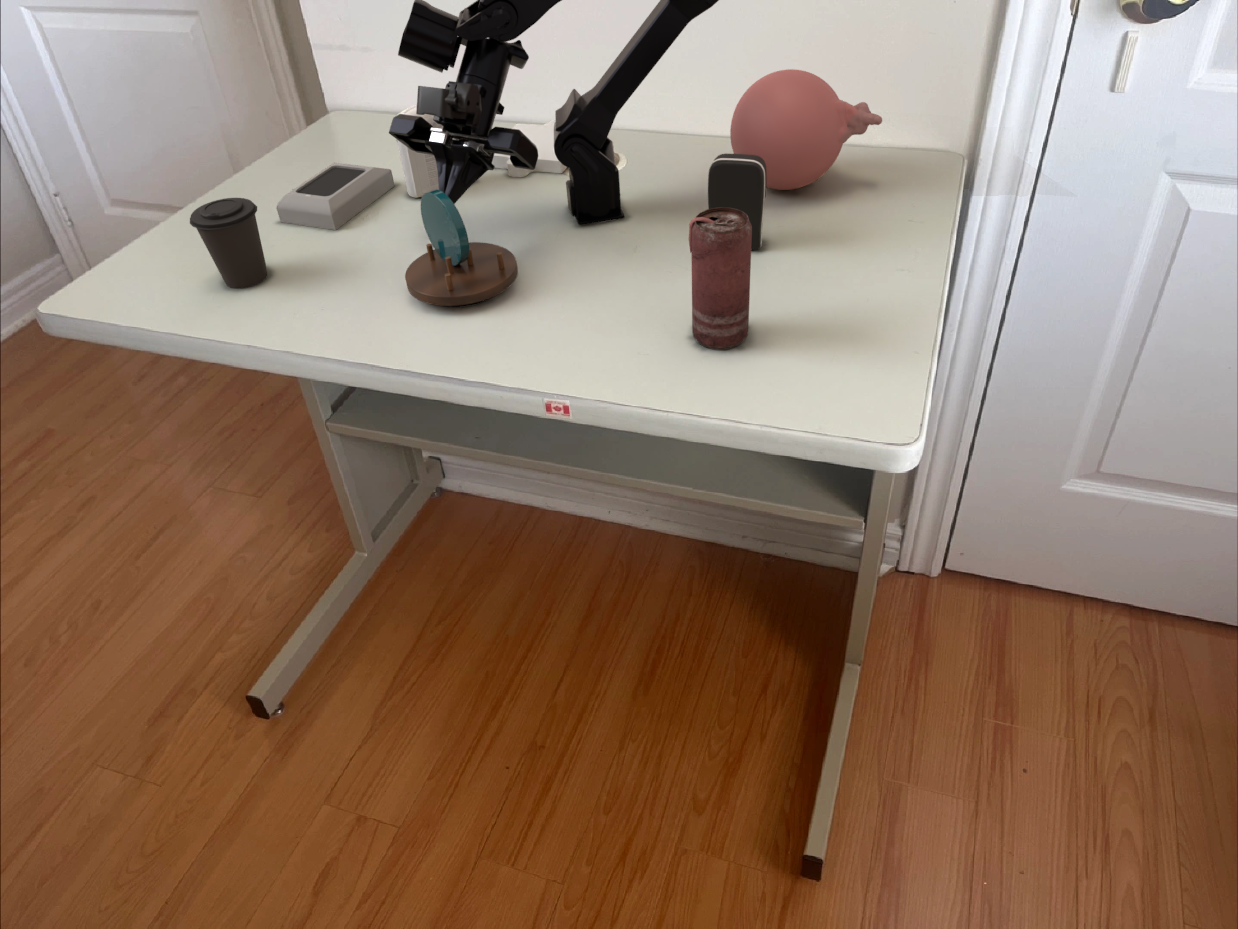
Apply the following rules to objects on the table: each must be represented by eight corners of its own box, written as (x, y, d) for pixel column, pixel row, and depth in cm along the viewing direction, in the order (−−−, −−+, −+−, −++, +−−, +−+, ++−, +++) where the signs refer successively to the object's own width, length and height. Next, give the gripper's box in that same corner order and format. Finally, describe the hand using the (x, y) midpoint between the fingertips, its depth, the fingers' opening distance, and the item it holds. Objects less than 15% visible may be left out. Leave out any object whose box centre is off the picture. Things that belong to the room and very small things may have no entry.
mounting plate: (555, 180, 137) (553, 167, 136) (476, 173, 141) (474, 161, 139) (597, 134, 149) (596, 122, 148) (524, 129, 153) (522, 117, 152)
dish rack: (539, 276, 112) (528, 197, 106) (442, 318, 106) (425, 237, 100) (480, 240, 121) (466, 164, 114) (387, 276, 115) (367, 199, 108)
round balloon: (868, 214, 122) (883, 96, 112) (719, 204, 127) (720, 90, 117) (877, 167, 133) (891, 55, 123) (740, 159, 138) (742, 52, 128)
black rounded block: (766, 238, 119) (770, 151, 112) (761, 252, 116) (764, 163, 109) (712, 234, 121) (713, 148, 113) (706, 247, 118) (706, 160, 111)
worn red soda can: (686, 324, 104) (684, 208, 95) (742, 318, 105) (745, 202, 96) (694, 354, 100) (693, 234, 91) (752, 348, 100) (757, 228, 91)
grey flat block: (389, 161, 137) (328, 205, 126) (394, 185, 139) (335, 229, 129) (336, 155, 140) (272, 197, 129) (342, 178, 142) (280, 221, 132)
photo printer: (465, 173, 141) (451, 90, 133) (478, 182, 138) (464, 97, 130) (403, 192, 137) (384, 108, 129) (415, 201, 134) (396, 116, 126)
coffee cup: (219, 300, 115) (190, 226, 109) (209, 273, 121) (181, 201, 115) (284, 282, 118) (260, 208, 111) (271, 257, 124) (247, 185, 117)
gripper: (380, 45, 110) (343, 171, 110) (512, 58, 103) (474, 193, 103) (431, 91, 120) (398, 206, 120) (555, 105, 113) (520, 228, 113)
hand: (444, 207), depth 114 cm, fingers closed
